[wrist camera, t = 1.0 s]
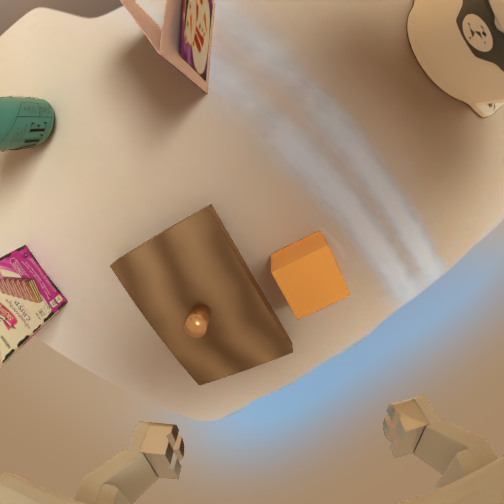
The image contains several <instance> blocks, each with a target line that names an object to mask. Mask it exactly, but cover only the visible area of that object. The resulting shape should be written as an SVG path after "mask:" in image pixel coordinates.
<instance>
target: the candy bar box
mask: <svg viewBox="0 0 504 504" xmlns="http://www.w3.org/2000/svg"><path fill="white" fill-rule="evenodd" d="M66 303H67V300H66V299H65V298H64V296H63V295H62V294H61V293H60V292H59V290H58V289H57V288H56V287H55V285H54V284H53V283H52V281H51V280H50V279H49V277H48V276H47V275H46V273H45V272H44V271H43V269H42V268H41V267H40V265H39V264H38V262H37V261H36V260H35V258H34V257H33V255H32V254H31V252H30V251H29V250H28V248H27V247H26V245H24V246H22V247H20V248H18V249H16V250H15V251H13V252H11V253H9V254H7V255H5V256H3V257H1V258H0V369H1V368H2V367H3V365H4V364H5V363H6V362H7V361H8V360H9V359H10V358H11V357H12V356H13V355H14V354H15V353H16V352H17V351H18V350H19V349H20V348H21V347H22V346H23V345H24V344H25V343H26V342H27V341H28V340H29V339H30V338H32V336H34V335H35V334H36V333H37V332H38V331H39V330H40V329H41V328H42V327H43V326H44V325H45V324H46V323H47V322H48V321H49V320H51V319H52V318H53V317H54V316H55V315H56V314H57V313H58V311H59V310H60V309H61V308H62V307H63V306H64V305H65V304H66Z"/></svg>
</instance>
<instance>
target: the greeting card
mask: <svg viewBox="0 0 504 504" xmlns="http://www.w3.org/2000/svg"><path fill="white" fill-rule="evenodd" d="M120 1H121V2H122V3H123V5H124V6H125V8H126V9H127V10H128V12H129V13H130V14H131V16H132V17H133V19H134V20H135V21H136V23H137V24H138V25H139V27H140V28H141V30H142V31H143V32H144V34H145V35H146V37H147V38H148V39H149V41H150V42H151V44H152V45H153V46H154V48H155V49H156V51H157V52H158V53H159V55H161V56H162V57H163V58H164V59H166V60H167V61H168V62H169V63H171V64H172V65H173V66H174V67H176V68H177V69H178V70H179V71H180V72H182V73H183V74H184V75H185V76H187V77H188V78H189V79H190V80H191V81H192V82H194V83H195V84H196V85H197V86H198V87H200V88H201V89H202V90H203V91H204V92H205V93H206V94H208V79H209V65H210V53H211V41H212V30H213V20H214V10H215V3H214V0H166V6H165V12H164V19H163V26H162V30H161V28H160V27H159V26H158V24H157V23H156V22H155V21H154V20H153V19H152V18H151V17H150V16H149V15H148V14H147V13H146V12H145V11H144V10H143V9H142V8H141V7H140V6H139V5H137V4H136V3H135V2H134V1H133V0H120Z"/></svg>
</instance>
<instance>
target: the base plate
mask: <svg viewBox="0 0 504 504" xmlns="http://www.w3.org/2000/svg"><path fill="white" fill-rule="evenodd" d="M110 267H111V268H112V270H113V271H114V273H115V274H116V276H117V277H118V279H119V280H120V282H121V283H122V285H123V286H124V288H125V289H126V291H127V292H128V294H129V295H130V297H131V298H132V300H133V301H134V302H135V304H136V305H137V307H138V308H139V310H140V311H141V312H142V314H143V315H144V316H145V318H146V319H147V321H148V322H149V323H150V325H151V326H152V327H153V329H154V330H155V331H156V333H157V334H158V335H159V337H160V338H161V339H162V340H163V342H164V343H165V344H166V346H167V347H168V348H169V349H170V351H171V352H172V353H173V354H174V356H175V357H176V358H177V359H178V361H179V362H180V363H181V364H182V366H183V367H184V368H185V369H186V370H187V372H188V373H189V374H190V375H191V376H192V377H193V379H194V380H195V381H196V382H197V383H198V384H199V385H202V384H205V383H208V382H211V381H215V380H218V379H221V378H224V377H227V376H230V375H233V374H236V373H238V372H241V371H244V370H247V369H250V368H253V367H255V366H258V365H261V364H264V363H266V362H269V361H271V360H274V359H277V358H279V357H282V356H284V355H287V354H289V353H292V352H293V347H292V342H291V340H290V338H289V337H288V335H287V333H286V332H285V330H284V328H283V327H282V325H281V323H280V321H279V320H278V318H277V316H276V315H275V313H274V311H273V310H272V308H271V306H270V305H269V303H268V301H267V299H266V298H265V296H264V294H263V293H262V291H261V289H260V288H259V286H258V284H257V282H256V281H255V279H254V277H253V276H252V274H251V272H250V270H249V269H248V267H247V265H246V264H245V262H244V260H243V258H242V257H241V255H240V253H239V252H238V250H237V248H236V246H235V245H234V243H233V241H232V239H231V238H230V236H229V234H228V233H227V231H226V229H225V227H224V226H223V224H222V222H221V220H220V219H219V217H218V215H217V214H216V212H215V210H214V208H213V207H212V205H211V204H210V205H209V206H207V207H205V208H203V209H201V210H200V211H198V212H196V213H194V214H193V215H191V216H189V217H187V218H186V219H184V220H182V221H180V222H179V223H177V224H175V225H174V226H172V227H170V228H168V229H167V230H165V231H163V232H162V233H160V234H158V235H157V236H155V237H153V238H152V239H150V240H148V241H147V242H145V243H143V244H142V245H140V246H138V247H137V248H135V249H134V250H132V251H130V252H129V253H127V254H126V255H124V256H122V257H121V258H119V259H118V260H116V261H115V262H114V263H113V264H112V265H110ZM198 303H202V304H205V305H207V306H208V307H209V308H210V310H211V317H210V320H209V323H208V327H207V330H206V333H205V335H204V336H202V337H200V338H193V337H191V336H189V335H188V334H187V333H186V332H185V330H184V324H185V322H186V320H187V317H188V315H189V313H190V311H191V308H192V307H193V306H194V305H195V304H198Z"/></svg>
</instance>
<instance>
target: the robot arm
mask: <svg viewBox="0 0 504 504" xmlns="http://www.w3.org/2000/svg"><path fill="white" fill-rule="evenodd" d="M407 30H408V37H409V41H410V44H411V47H412V50H413V52H414V54H415V56H416V58H417V60H418V62H419V63H420V65H421V67H422V68H423V70H424V71H425V72H426V74H427V75H428V76H429V77H430V78H431V80H432V81H433V82H434V83H435V84H436V85H437V86H438V87H440V88H441V89H442V90H443V91H445V92H446V93H447V94H449V95H451V96H452V97H454V98H456V99H459V100H461V101H463V102H465V103H467V104H469V105H470V106H471V107H472V108H473V109H474V111H475V112H476V113H478V114H479V115H480V116H481V117H488V116H491V115H492V114H493V113H494V112H495V111H496V110H497V109H498V108H500V107H501V106H502V105H503V104H504V0H414V6H413V8H412V10H411V11H410V14H409V17H408V23H407ZM488 104H489V105H488ZM387 412H388V415H387V416H386V417H385V418H384V423H383V429H384V434H385V436H386V439H388V440H389V441H391V444H390V449H391V451H392V454H393V456H394V458H398V457H402V456H405V455H408V454H412V453H413V454H414V455H415V456H417V457H418V458H419V459H421V460H422V461H424V462H425V463H427V464H428V465H429V466H431V467H432V468H434V469H435V470H437V471H438V472H439V473H441V474H442V477H441V478H440V480H439V481H438V482H437V484H436V486H435V487H436V490H434V491H431V492H429V493H426V494H423V495H421V496H418V497H415V498H413V499H410V500H407V501H404V502H401V503H397V504H504V455H503V456H501V457H500V458H497V456H496V455H495V453H494V451H493V450H492V448H491V447H490V445H489V444H488V442H487V441H486V439H485V438H482V437H480V436H478V435H476V434H474V433H471V432H469V431H467V430H465V429H462V428H460V427H458V426H456V425H454V424H452V423H449V422H447V421H445V420H441V421H440V419H439V417H438V416H437V414H436V413H435V411H434V410H433V408H432V406H431V405H430V403H429V401H428V400H427V398H426V397H425V396H424V395H421V396H418V397H414V398H410V399H406V400H403V401H399V402H395V403H392V404H389V406H388V408H387ZM178 432H179V430H178V427H177V425H173V424H161V423H151V422H141V421H140V422H139V423H138V424H137V425H136V428H135V431H134V433H133V436H132V438H131V441H130V443H129V446H128V448H127V450H123V451H122V452H120V453H119V454H117V455H116V456H114V457H113V458H112V459H110V460H109V461H107V462H106V463H104V464H103V465H101V466H100V467H98V468H97V469H96V470H94V471H92V472H91V473H89V474H88V475H86V476H85V477H84V478H83V480H82V482H81V485H80V487H79V489H78V491H77V494H76V496H75V498H74V499H71V498H68V497H65V496H62V495H60V494H57V493H55V492H52V491H50V490H48V489H45V488H43V487H40V486H38V485H36V484H34V483H32V482H29V481H27V480H25V479H23V478H21V477H19V476H17V475H15V474H13V473H10V472H6V473H2V474H0V504H133V503H134V502H135V501H136V500H137V499H138V498H139V497H140V496H141V495H142V494H143V493H144V492H145V491H146V490H147V489H148V488H149V487H150V486H151V485H152V484H153V483H154V482H155V481H156V480H157V479H158V477H160V478H171V479H179V474H180V470H181V465H180V463H179V461H180V460H181V459H182V458H183V456H184V442H183V439H182V437H181V436H179V435H178Z"/></svg>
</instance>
